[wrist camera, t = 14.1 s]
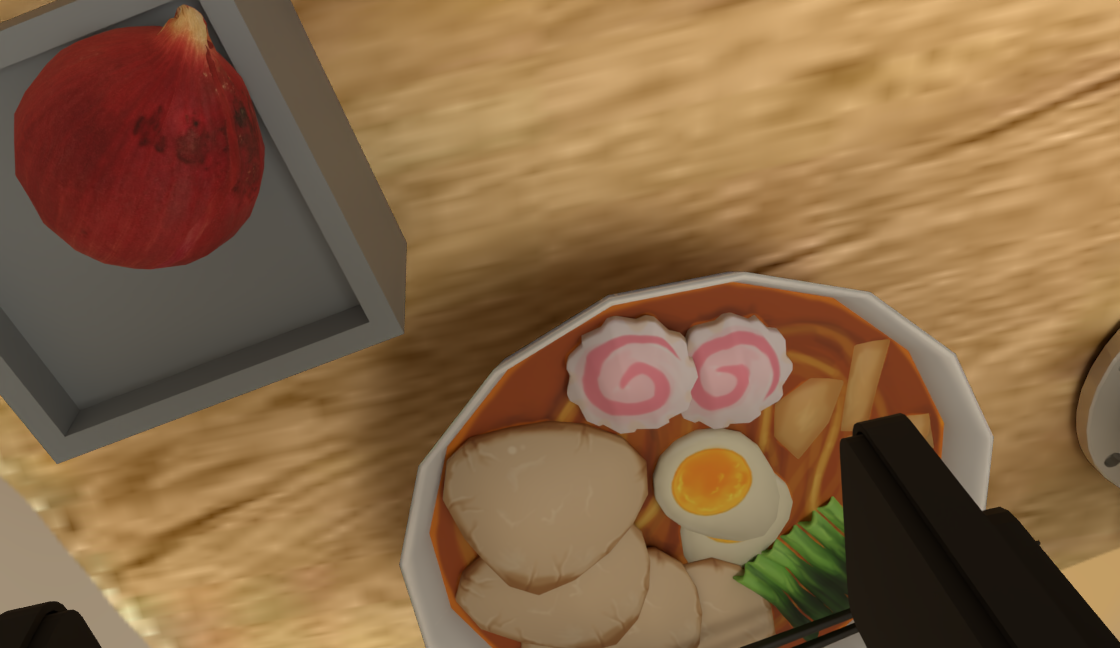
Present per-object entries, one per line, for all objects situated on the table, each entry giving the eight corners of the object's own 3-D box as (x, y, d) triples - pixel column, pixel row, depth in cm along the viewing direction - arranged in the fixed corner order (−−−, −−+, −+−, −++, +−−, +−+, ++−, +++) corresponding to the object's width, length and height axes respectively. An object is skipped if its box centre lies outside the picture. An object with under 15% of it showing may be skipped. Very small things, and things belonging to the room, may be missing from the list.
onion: (247, 262, 28) (360, 65, 24) (125, 366, 23) (237, 144, 19) (88, 144, 27) (172, -84, 23) (-71, 226, 23) (-4, -40, 18)
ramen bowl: (881, 91, 34) (1002, 160, 27) (958, 513, 46) (1057, 639, 39) (280, 331, 36) (245, 455, 29) (497, 683, 47) (511, 835, 40)
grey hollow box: (406, 239, 35) (403, 333, 29) (122, 347, 36) (56, 463, 29) (254, -80, 29) (206, -52, 23) (-84, 56, 30) (-224, 121, 23)
